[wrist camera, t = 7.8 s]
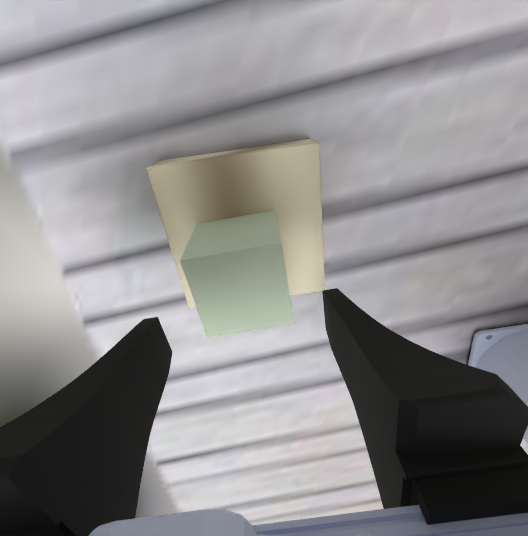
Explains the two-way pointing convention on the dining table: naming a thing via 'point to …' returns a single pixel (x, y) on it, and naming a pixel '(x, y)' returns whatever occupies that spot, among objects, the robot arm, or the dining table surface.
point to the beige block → (248, 201)
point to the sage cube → (238, 274)
